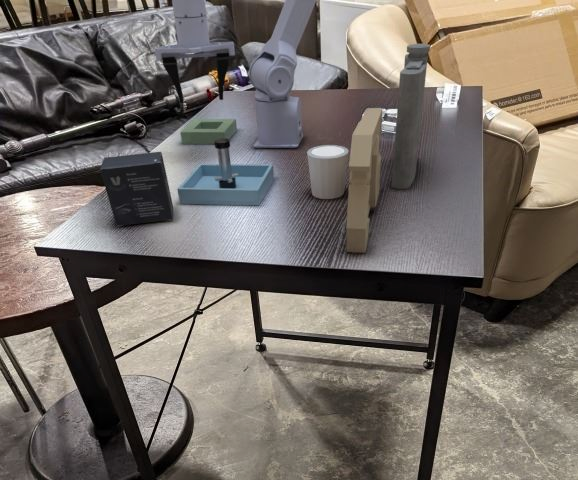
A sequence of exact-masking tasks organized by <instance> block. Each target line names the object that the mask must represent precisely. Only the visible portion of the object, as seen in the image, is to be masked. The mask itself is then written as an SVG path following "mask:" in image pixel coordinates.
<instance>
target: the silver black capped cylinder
mask: <svg viewBox="0 0 578 480" xmlns="http://www.w3.org/2000/svg"><path fill="white" fill-rule="evenodd" d="M213 145H214V148H215V149H216V152H217V159H218V164H219V167H220V174H221V176H219V177H215V181H219V187H220V188H226V189H235V188H236V180H235V178H236V177H239V176H238V174H237V173H234V174H232V171H231V164H232V163H231V155H230V147H231V142H230V139H227V138H220V139H216V140H215V141H214V144H213Z"/></svg>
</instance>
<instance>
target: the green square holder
mask: <svg viewBox="0 0 578 480" xmlns="http://www.w3.org/2000/svg"><path fill="white" fill-rule="evenodd" d="M237 131H238V127H237V119H236V118H194V119H193V120H192V121H191V122H189V124H188V125H187V126H185V127H184V128H183V129H181V131H180V138H181V144H182V145H215V144H214V141H215V140H216V139H220V138H227V139H229V140H230V139H231V138H233V136H234V135H235V134H236V133H237Z"/></svg>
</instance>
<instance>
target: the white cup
mask: <svg viewBox="0 0 578 480" xmlns="http://www.w3.org/2000/svg"><path fill="white" fill-rule="evenodd" d="M349 153H350V151H349V149H348V148H347V147H345V146H343V145H337V144H324V145H323V144H322V145H317V146H314V147H311V148H310V149H308V150H307V152H306V155H307V164H308V172H309V182H310V189H311V194H312V196H313V197H314V198H316V199H320V200H332V199H333V200H334V199H337V198H341V197H342V196H343V195H344V194H345V188H346V179H347V171H348V170H347V169H348V163H349V162H348V160H349Z"/></svg>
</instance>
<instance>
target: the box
mask: <svg viewBox="0 0 578 480" xmlns="http://www.w3.org/2000/svg"><path fill="white" fill-rule="evenodd" d="M166 171H167V170H166V166H165V161H164V157H163V152H162V151H154V152H153V151H152V152H144V153H136V154H135V153H134V154H125V155H117V156H109V157H107V156H106V157H104V158H103V160H102V163H101V165H100V168H99V172H100V175H101V178H102V182H103V185H104V188H105V191H106V194H107V197H108V201H109V205H110V209H111V212H112V215H113V219H114V223H115V225H116V227H117V228H120V227H124V226H130V225H137V224H145V223H155V222H162V221H168V222H169V221H173V220H174V205H173V200H172V195H171V189H170V185H169V180H168V174H167V172H166Z"/></svg>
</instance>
